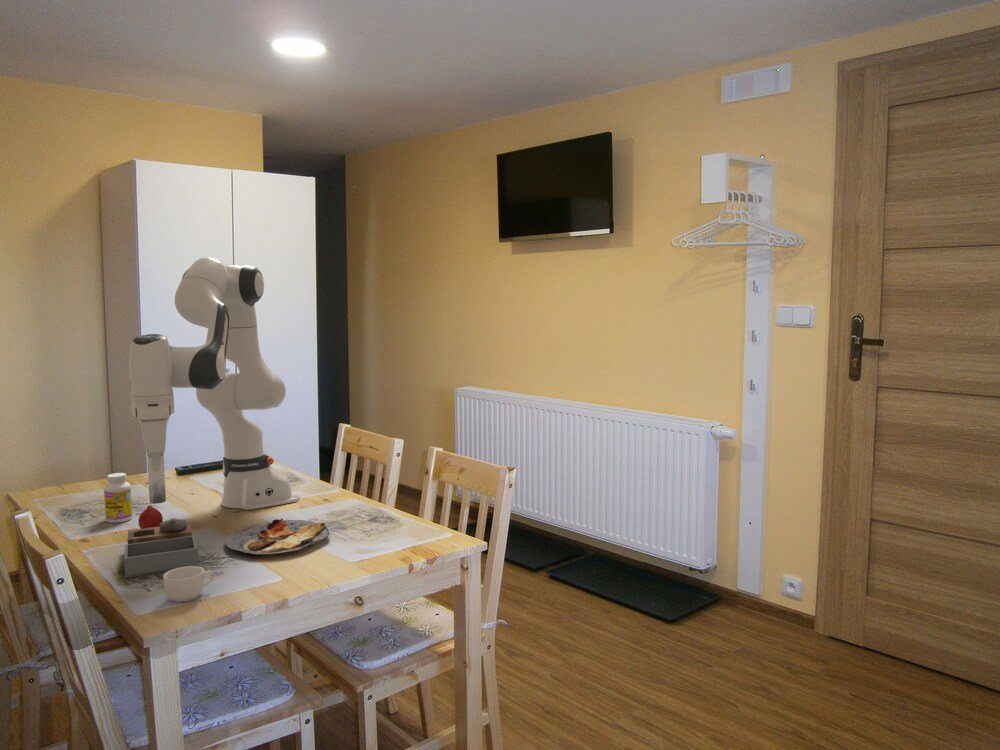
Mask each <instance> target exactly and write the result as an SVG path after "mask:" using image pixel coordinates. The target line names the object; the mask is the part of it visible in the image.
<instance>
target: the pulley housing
mask: <svg viewBox="0 0 1000 750" xmlns="http://www.w3.org/2000/svg"><path fill="white" fill-rule="evenodd" d="M186 536H193V531H192V526H191V522H187V520H185V519H178V518H177V519H176V518H170V519H168V520H166V521H163V522H162V523H160V527H152V528H144V529H141V528H136V529H130V530H128V532H127V544H133V543H140V542H148V541H156V540H163V539H171V538H178V537H186Z"/></svg>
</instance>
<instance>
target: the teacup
mask: <svg viewBox="0 0 1000 750" xmlns="http://www.w3.org/2000/svg"><path fill="white" fill-rule="evenodd" d="M208 574H210V575H211V578H210V579H209V580H207V581H206V582H205V578H206V576H207V575H208ZM162 577H163V587H164V591H165V594H166V595H167V597H168V598H169V599H170V600H171V601H174V602H176V603H185V602H190V601H193V600H195V599H197V597H199V596H200V595H201V594H202V591H203V590H204V587H205V586H207V585H209V584H210V583H212V581H213V580H214V578H215V574H214V572H213V571H212V570H205V569H204V567H202V566H199V565H198V566H186V567H180V568H176V569H172V570H170V571H168V572H165V573H163V576H162Z"/></svg>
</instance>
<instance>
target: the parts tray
mask: <svg viewBox="0 0 1000 750" xmlns="http://www.w3.org/2000/svg"><path fill="white" fill-rule="evenodd" d="M196 541H197V540H196V536H195V535H192V536H186V537H178V538H171V539H163V540H156V541H148V542H140V543H133V544H128V543H126V544H125V545H124V552H123V553H124V556H123V563H124V566H123V567H124V578H125V579H129V578H135V577H136V578H137V577H143V576H150V575H157V574H158V575H159V574H165V573H166V572H168V571H170V570H172V569H176V568H180V567H186V566H198V567H199V555H198V546H197V542H196Z"/></svg>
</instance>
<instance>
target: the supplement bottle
mask: <svg viewBox="0 0 1000 750" xmlns="http://www.w3.org/2000/svg"><path fill="white" fill-rule="evenodd" d="M106 477H107V479H106V480H107V482H108V483H107V484H105V485H104V488H103V494H104V495H103V496H104V497H103V498H104V510H105V511H104V513H105V521H106V522H107V523H111V524H120V523H124V522H128V521H130V520H131V519H132V518H133V506H132V502H133V501H132V486H131V483H130V482H128V481H127V473H125V472H116V473H110V474H108V475H107V476H106Z"/></svg>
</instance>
